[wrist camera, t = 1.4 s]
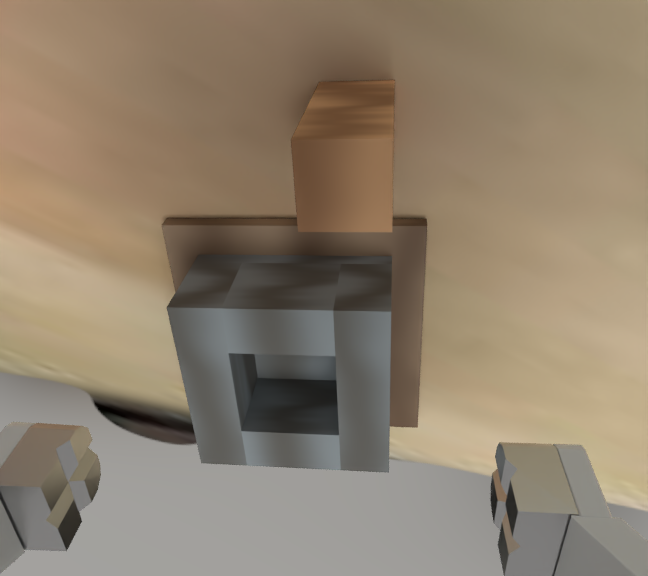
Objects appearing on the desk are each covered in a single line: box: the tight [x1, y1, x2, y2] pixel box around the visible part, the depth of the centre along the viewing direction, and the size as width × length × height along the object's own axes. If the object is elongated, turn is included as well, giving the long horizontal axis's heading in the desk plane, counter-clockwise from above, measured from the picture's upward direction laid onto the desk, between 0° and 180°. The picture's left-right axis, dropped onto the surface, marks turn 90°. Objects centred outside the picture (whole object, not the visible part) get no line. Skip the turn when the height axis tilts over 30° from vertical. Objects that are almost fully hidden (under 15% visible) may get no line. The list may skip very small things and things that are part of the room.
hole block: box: [162, 218, 427, 472], centre depth 37 cm, size 16×16×7 cm
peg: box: [291, 80, 395, 232], centre depth 28 cm, size 4×4×10 cm
